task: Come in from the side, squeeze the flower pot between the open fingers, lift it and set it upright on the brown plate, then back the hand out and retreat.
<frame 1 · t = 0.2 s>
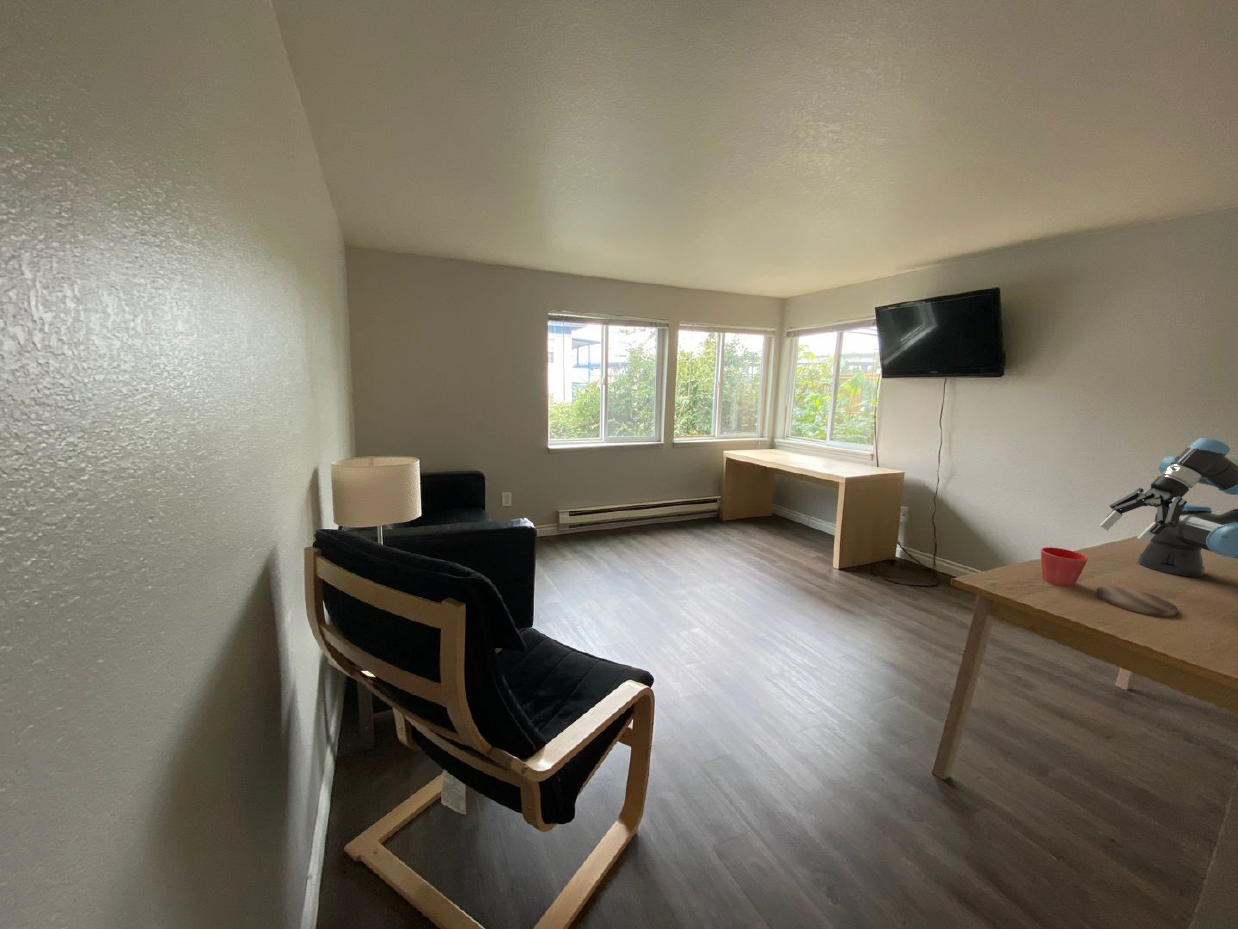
hand: (1121, 534, 154), 15 cm above the table, fingers open, 13 cm apart
brown plate: (1134, 603, 139), on the table
flower pot: (1058, 582, 153), on the table
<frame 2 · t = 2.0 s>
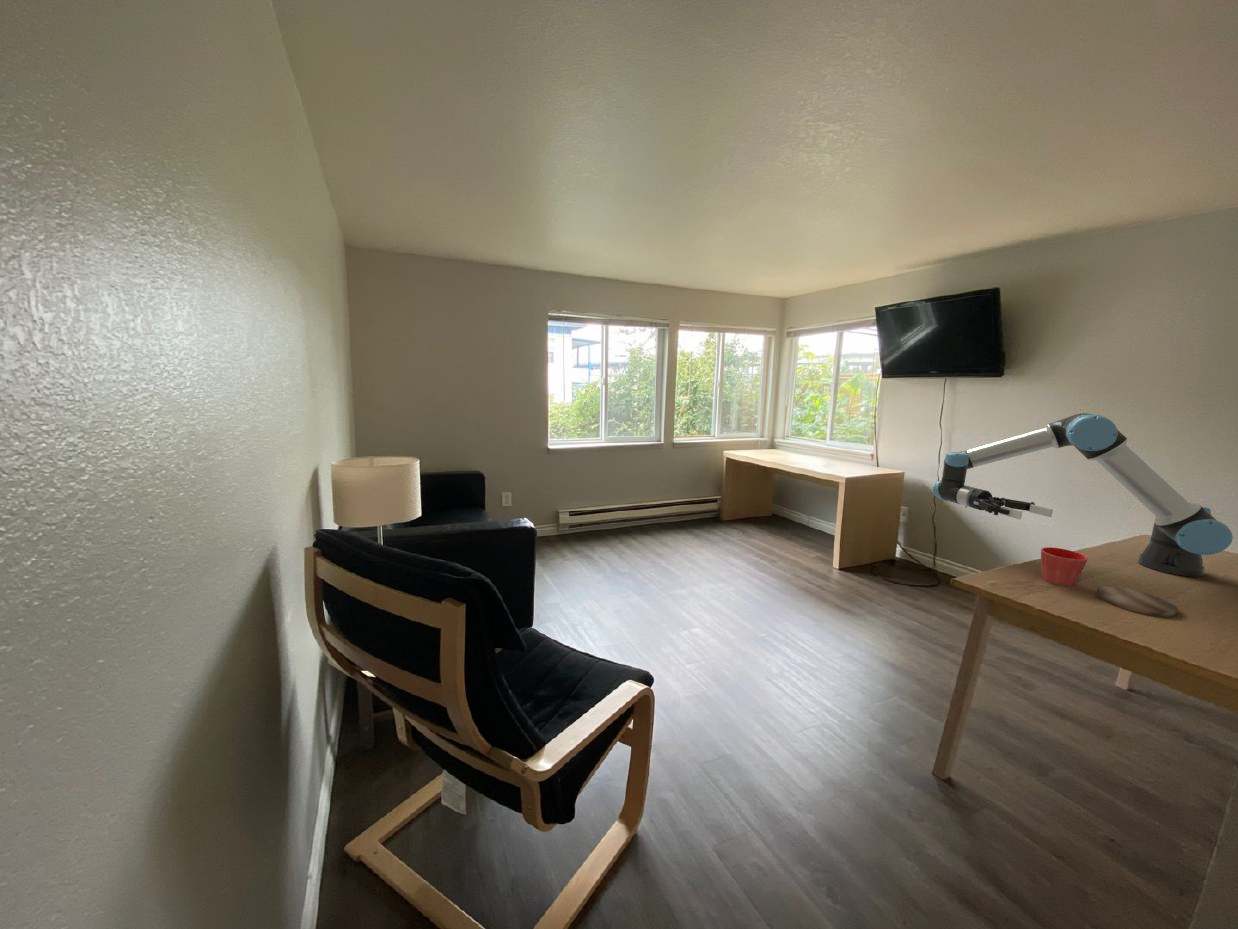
hand: (1036, 514, 158), 20 cm above the table, fingers open, 13 cm apart
nothing on the table moved.
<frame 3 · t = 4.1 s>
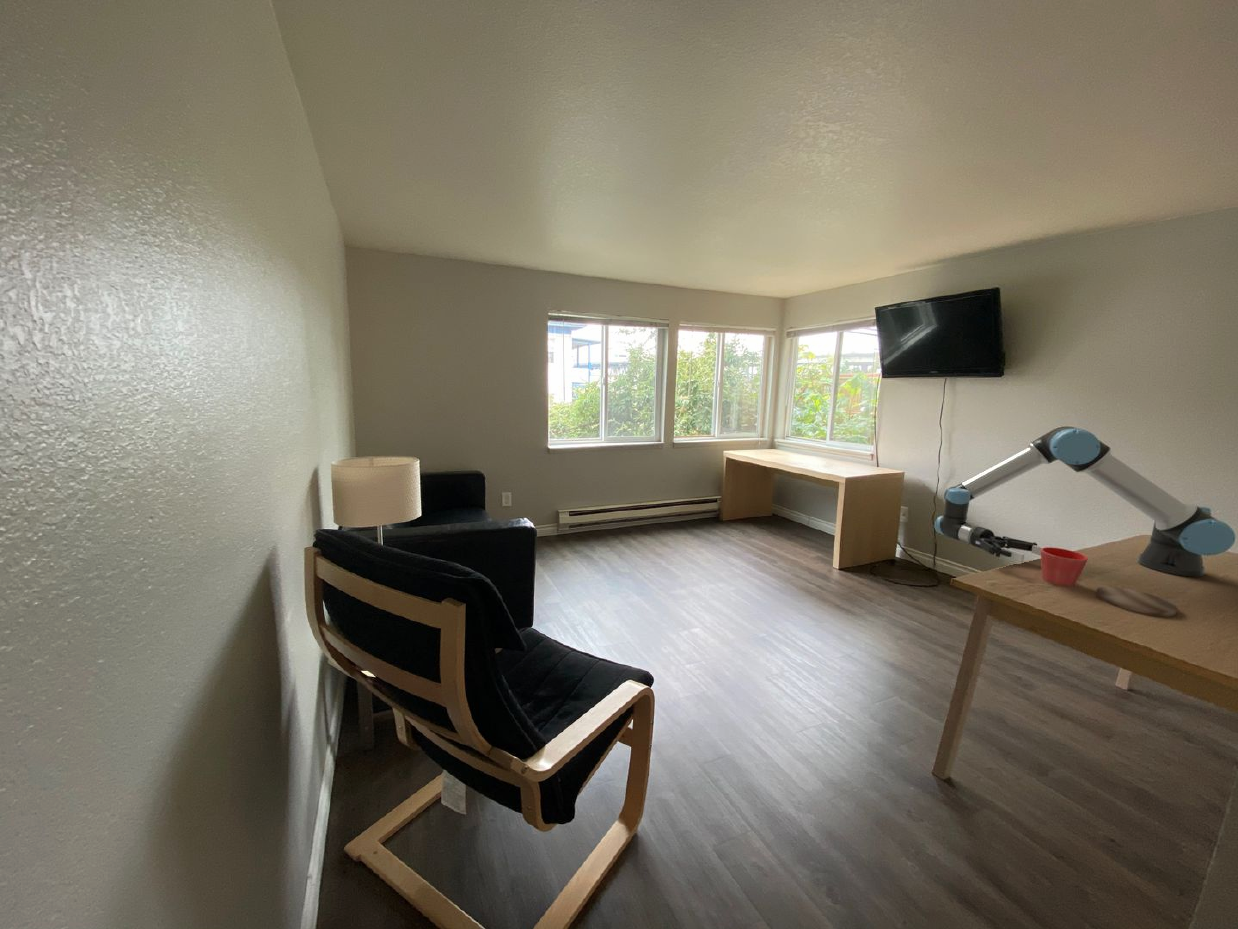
hand: (1038, 557, 158), 6 cm above the table, fingers open, 13 cm apart
nothing on the table moved.
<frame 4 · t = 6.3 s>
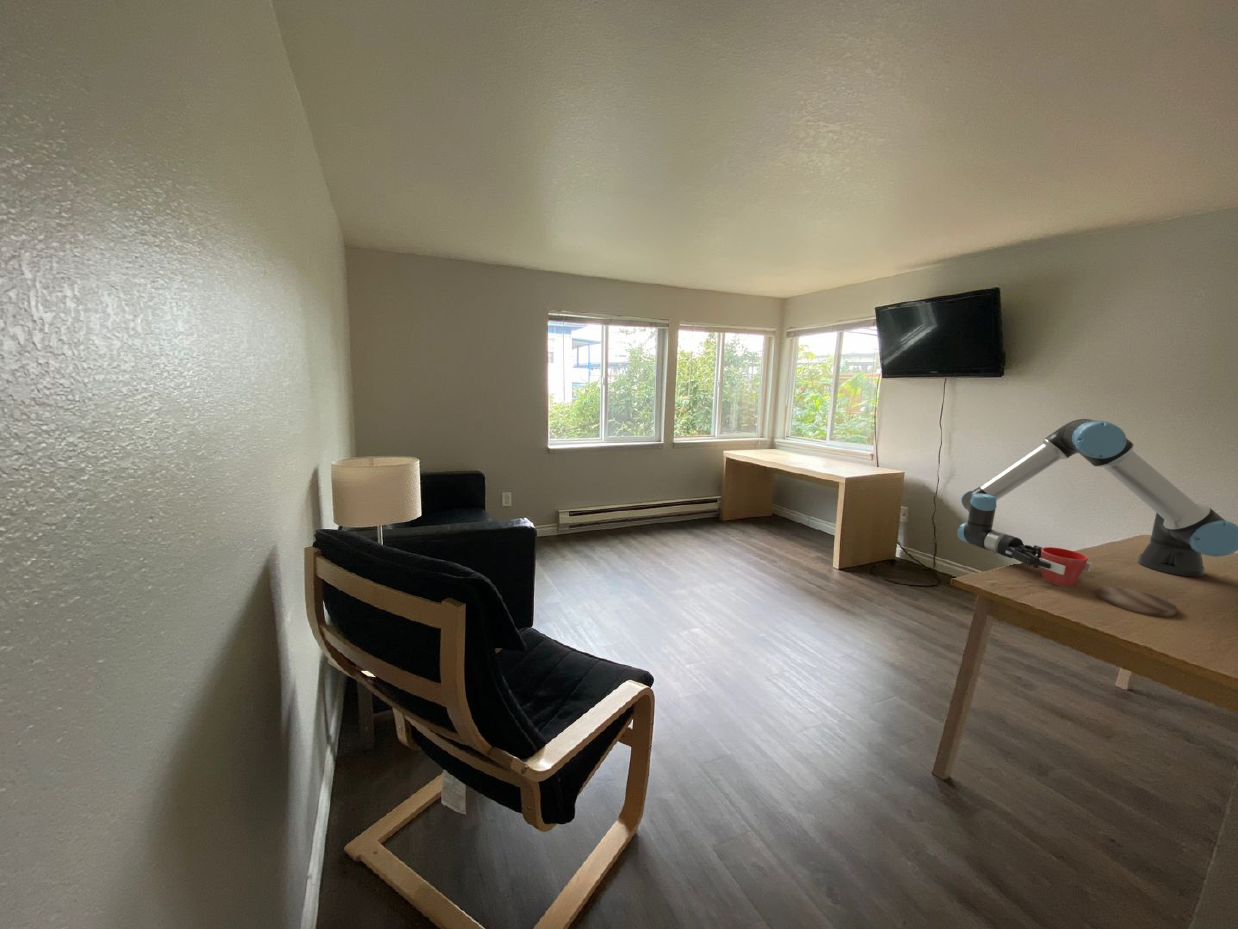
hand: (1077, 569, 148), 6 cm above the table, fingers closed on flower pot, 10 cm apart
flower pot: (1058, 582, 153), on the table, touching gripper
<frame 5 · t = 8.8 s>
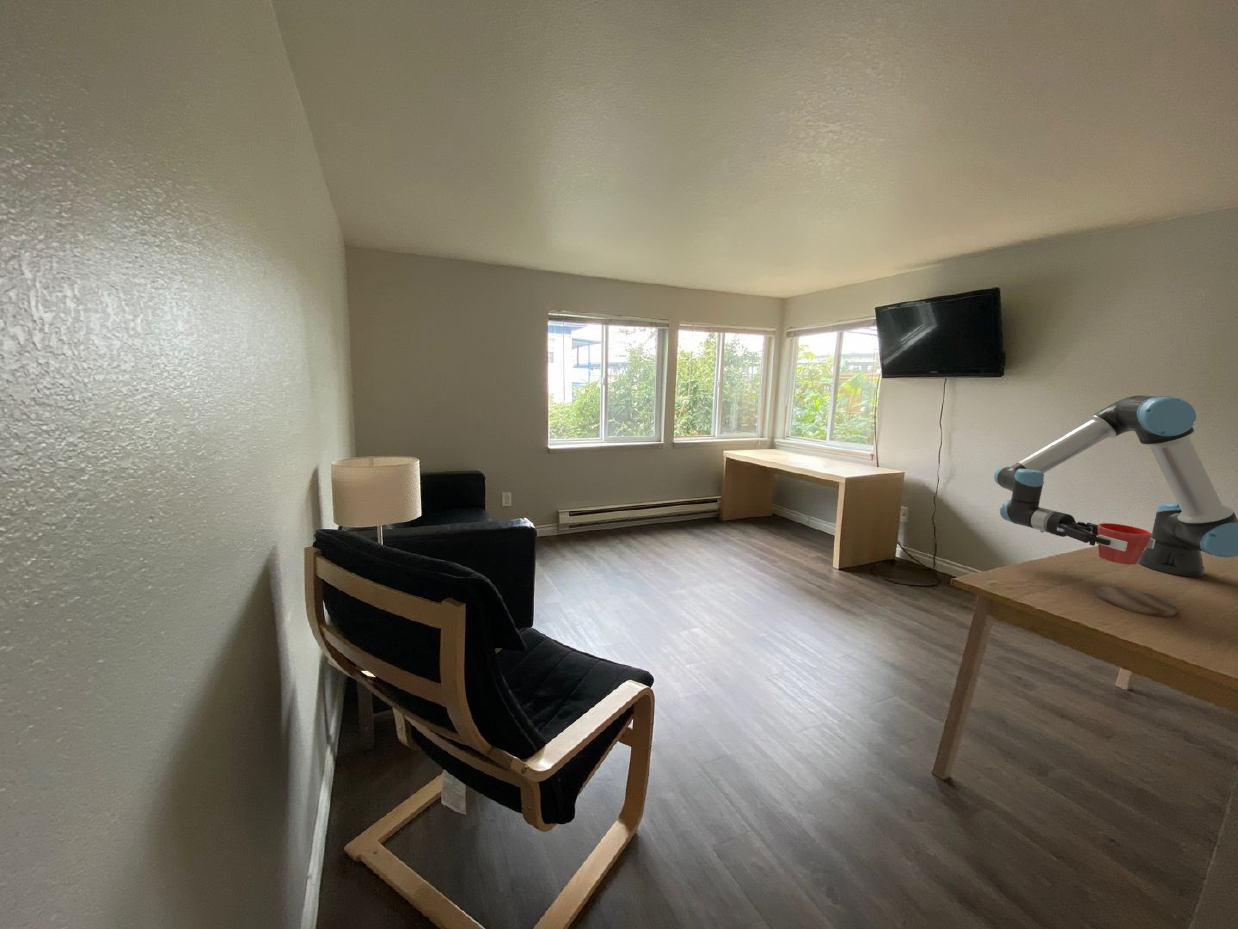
hand: (1139, 545, 135), 18 cm above the table, fingers closed on flower pot, 10 cm apart
flower pot: (1117, 560, 141), point 11 cm above the table, touching gripper
when the fingers open (9 cm above the table, at t = 11.4 s): flower pot drops 1 cm, resting on brown plate.
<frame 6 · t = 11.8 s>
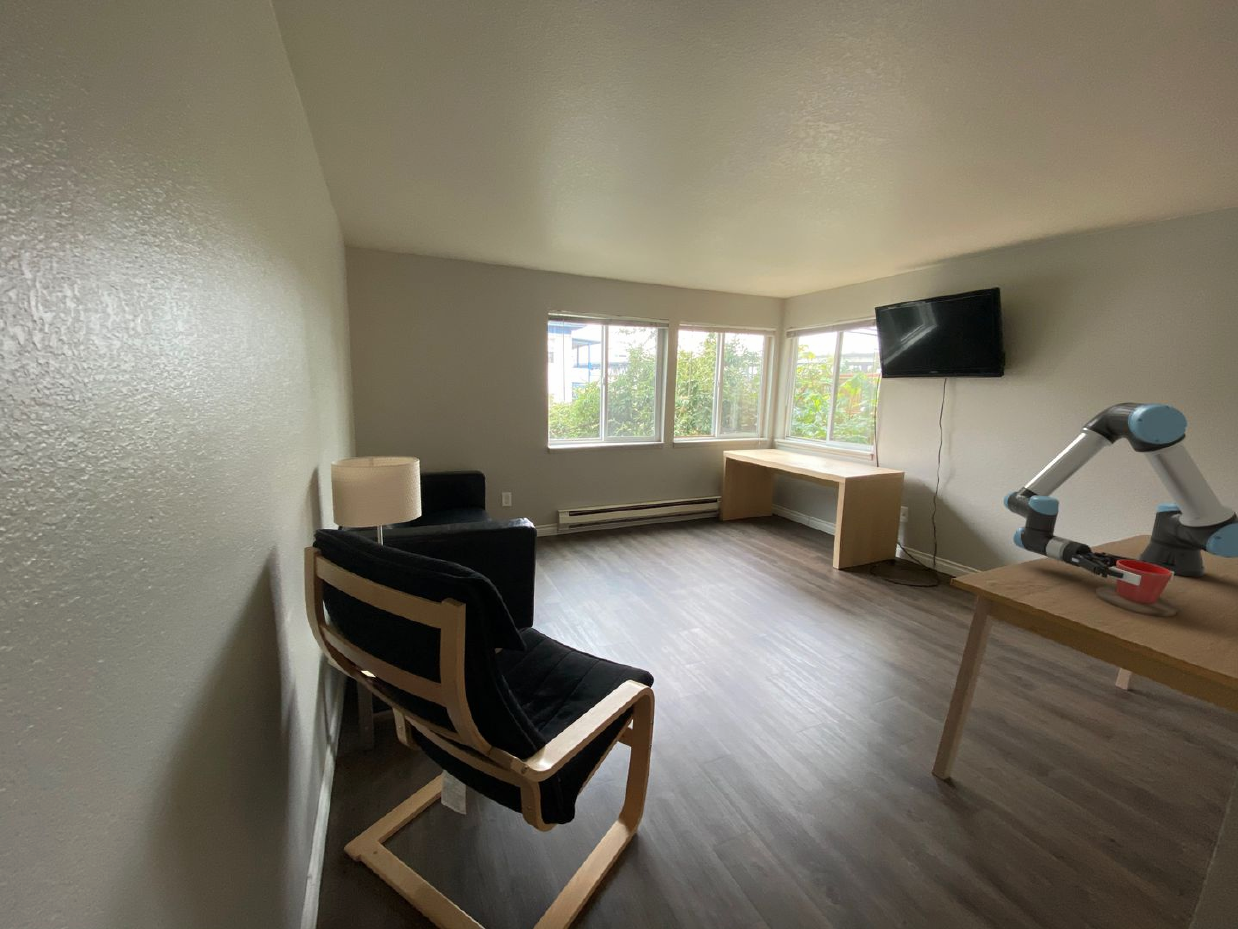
hand: (1156, 578, 134), 9 cm above the table, fingers open, 13 cm apart
flower pot: (1136, 598, 139), point 1 cm above the table, touching brown plate
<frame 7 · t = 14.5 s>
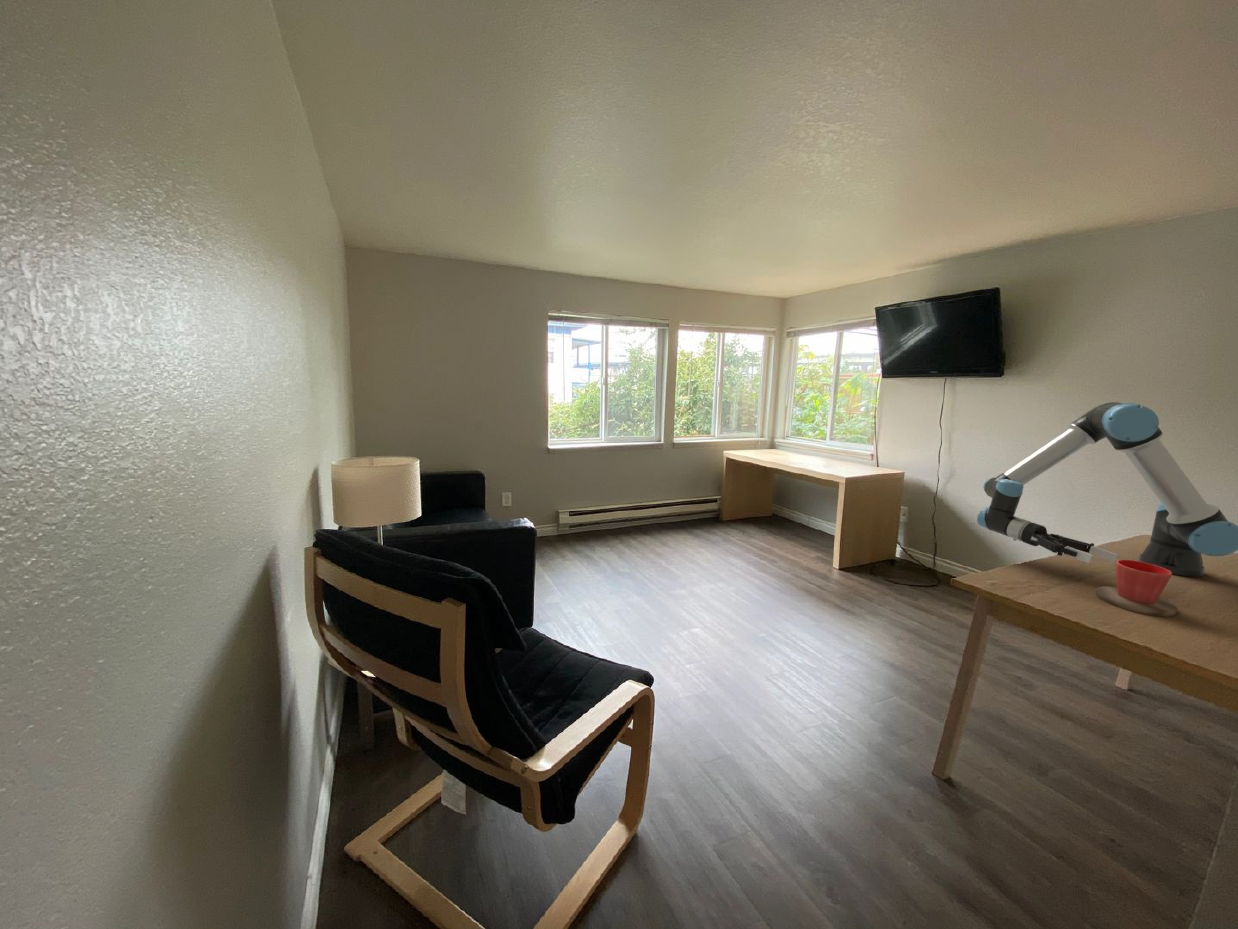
hand: (1103, 559, 147), 10 cm above the table, fingers open, 13 cm apart
nothing on the table moved.
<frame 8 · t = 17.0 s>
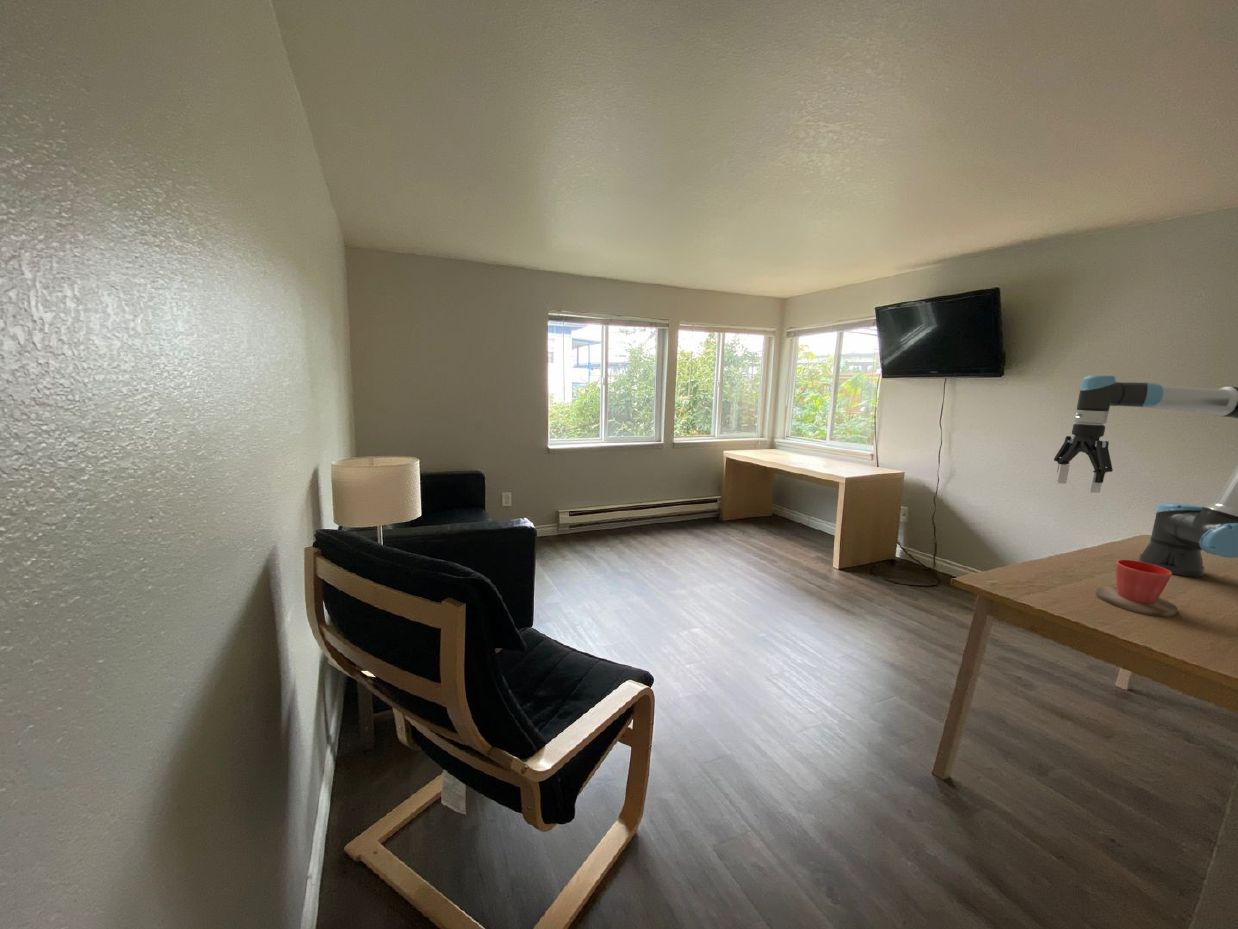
hand: (1076, 487, 158), 29 cm above the table, fingers open, 13 cm apart
nothing on the table moved.
at the end: flower pot inside the target area on the brown plate (0.6 cm from its centre), point 1.3 cm above the brown plate's base; flower pot tilted 0°; the gripper is holding nothing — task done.
